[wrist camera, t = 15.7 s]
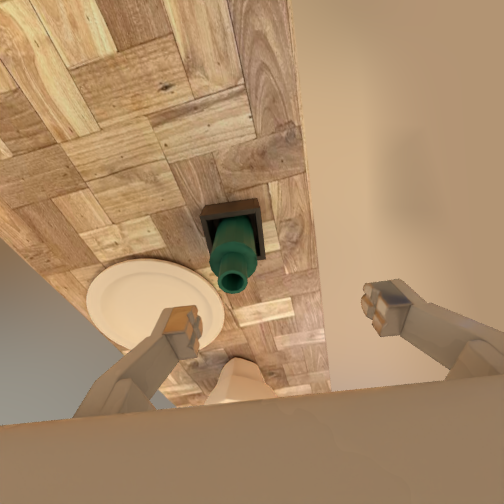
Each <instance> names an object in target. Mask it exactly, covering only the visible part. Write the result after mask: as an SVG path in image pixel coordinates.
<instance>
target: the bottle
mask: <svg viewBox="0 0 504 504" xmlns="http://www.w3.org/2000/svg"><path fill="white" fill-rule="evenodd" d="M209 263H210V266H211V270H212V271H213V272H214V273H215V275H216V276H217V277H218V285H219V288H220V289H222V290H223V291H224V292H226V293H230V294H235V293H240V292H241V291H243V290H244V289H245V288H246V286H247V283H248V281H247V278H249V277H250V276H251V275H252V274H253V273H254V272H255V270H256V267H257V256H256V249H255V242H254V235H253V228H252V222H251V220H250V218H249V217H248V216H247V215H241V216H233V217H226V218H221V219H220V221H219V224H218V228H217V232H216V236H215V240H214V244H213V248H212V252H211V256H210V261H209Z"/></svg>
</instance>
